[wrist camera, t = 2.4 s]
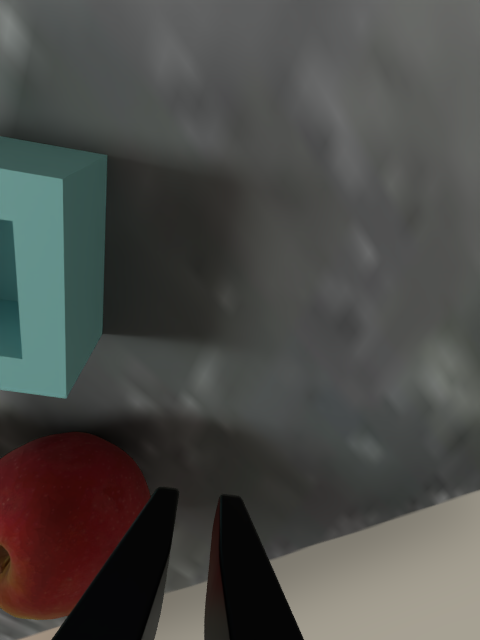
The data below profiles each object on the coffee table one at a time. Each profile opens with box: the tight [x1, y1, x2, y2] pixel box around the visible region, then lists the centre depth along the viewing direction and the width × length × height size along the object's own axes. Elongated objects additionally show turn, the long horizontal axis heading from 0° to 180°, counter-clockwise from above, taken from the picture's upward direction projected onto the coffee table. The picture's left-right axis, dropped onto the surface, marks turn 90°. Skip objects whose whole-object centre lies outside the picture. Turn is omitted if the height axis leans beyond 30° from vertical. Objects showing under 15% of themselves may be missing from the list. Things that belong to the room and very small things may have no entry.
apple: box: [0, 432, 151, 620], centre depth 21 cm, size 8×8×8 cm
